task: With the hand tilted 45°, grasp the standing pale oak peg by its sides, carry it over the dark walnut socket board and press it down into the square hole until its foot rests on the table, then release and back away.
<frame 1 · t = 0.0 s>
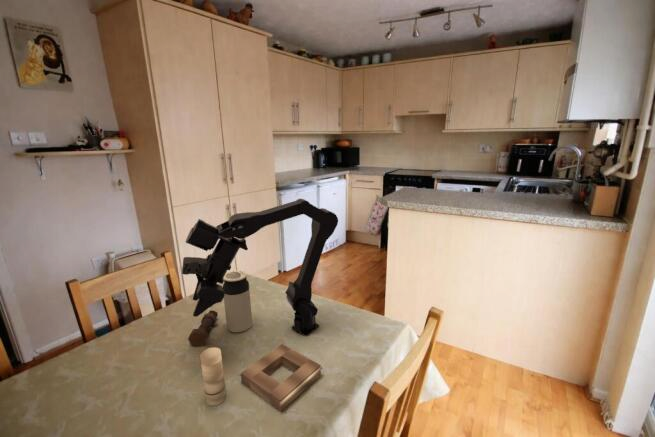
hand: (194, 307, 84), 15 cm above the table, tool tilted 35°, fingers open, 9 cm apart
peg: (216, 397, 73), on the table
socket board: (281, 378, 78), on the table
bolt: (207, 332, 99), on the table
travel mug: (239, 326, 101), on the table
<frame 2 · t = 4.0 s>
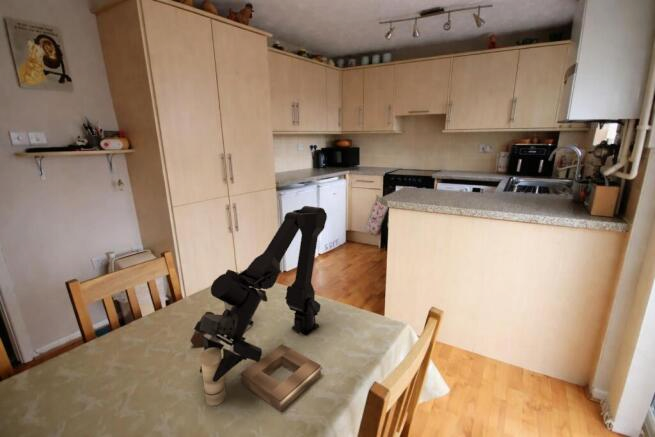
hand: (207, 377, 70), 7 cm above the table, tool tilted 45°, fingers closed on peg, 4 cm apart
peg: (216, 397, 73), on the table, touching gripper
when the fingers open (8 cm above the table, at t = 8.0 s): peg drops 1 cm, resting in socket board.
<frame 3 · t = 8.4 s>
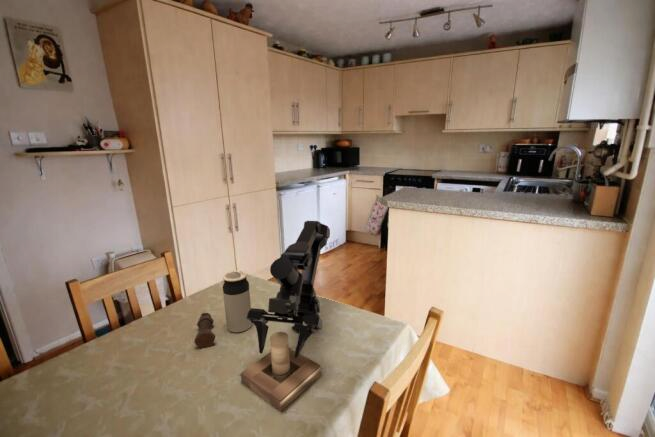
hand: (278, 355, 75), 8 cm above the table, tool tilted 45°, fingers open, 9 cm apart
peg: (281, 378, 78), resting in socket board
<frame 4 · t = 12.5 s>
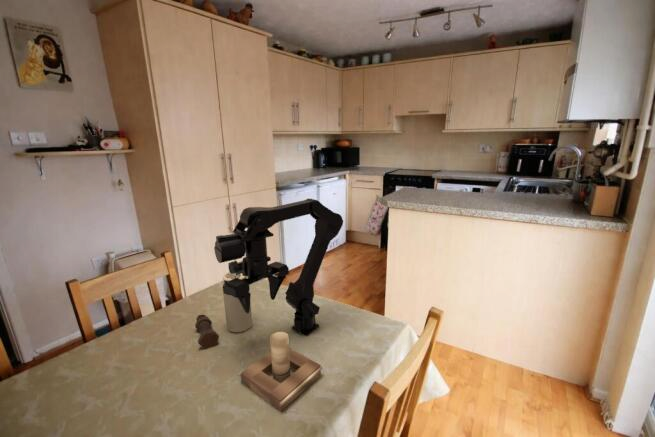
hand: (260, 305, 88), 13 cm above the table, tool pointing down, fingers open, 9 cm apart
at the end: peg 0.0 cm off-centre on the socket board, point 0.0 cm above the socket board's base; peg tilted 0°; the gripper is holding nothing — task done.
